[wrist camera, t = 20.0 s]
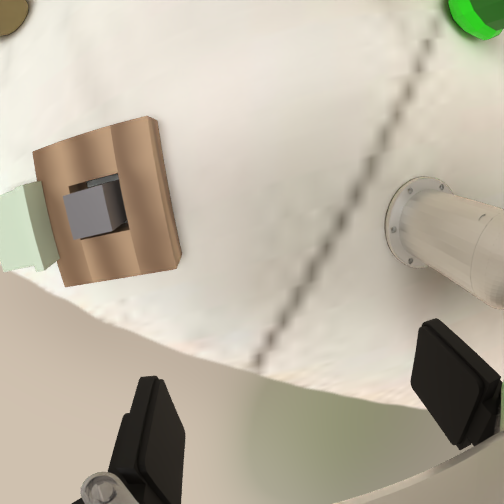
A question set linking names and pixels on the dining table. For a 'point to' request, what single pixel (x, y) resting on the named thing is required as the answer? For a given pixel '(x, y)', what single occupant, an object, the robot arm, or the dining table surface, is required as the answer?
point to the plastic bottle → (479, 16)
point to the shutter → (26, 229)
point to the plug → (95, 209)
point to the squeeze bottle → (12, 15)
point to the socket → (134, 197)
